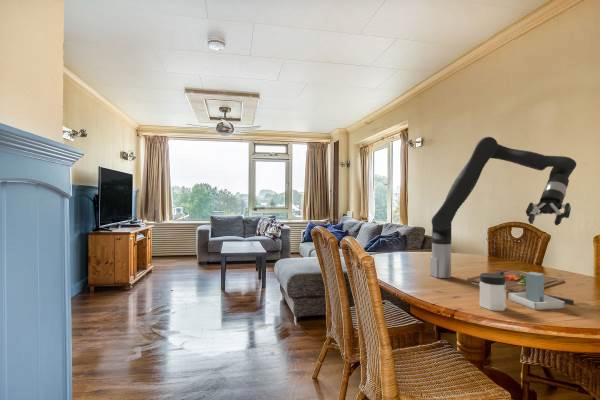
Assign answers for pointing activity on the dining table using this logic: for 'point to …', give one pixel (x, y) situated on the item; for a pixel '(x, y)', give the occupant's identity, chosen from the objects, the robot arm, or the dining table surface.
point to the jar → (492, 291)
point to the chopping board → (518, 280)
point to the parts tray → (547, 304)
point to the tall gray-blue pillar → (535, 287)
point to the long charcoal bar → (562, 299)
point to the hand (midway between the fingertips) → (543, 223)
